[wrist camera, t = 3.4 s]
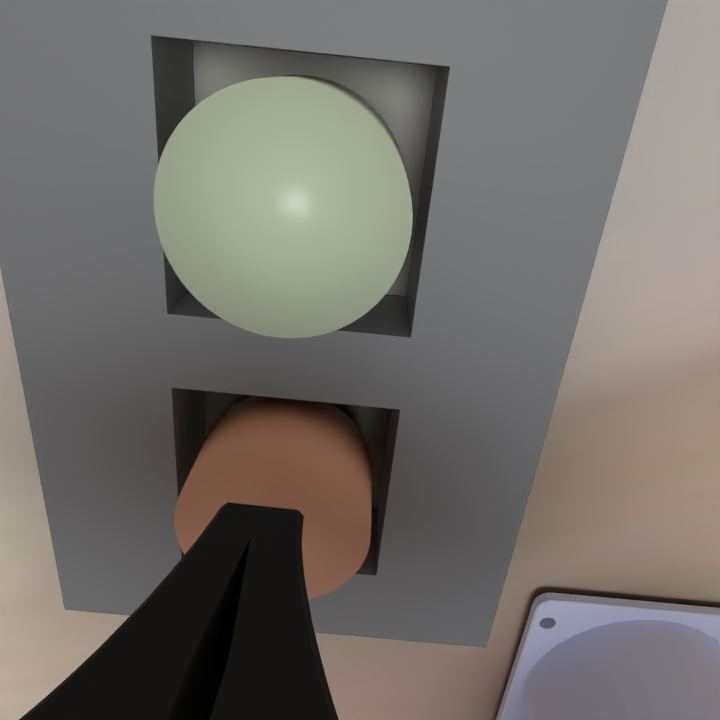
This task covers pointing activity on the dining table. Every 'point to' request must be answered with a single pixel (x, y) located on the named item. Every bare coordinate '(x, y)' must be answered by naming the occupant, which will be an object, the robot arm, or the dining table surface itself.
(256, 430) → the button terracotta
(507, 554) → the button panel
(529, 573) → the dining table surface
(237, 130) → the button sage
